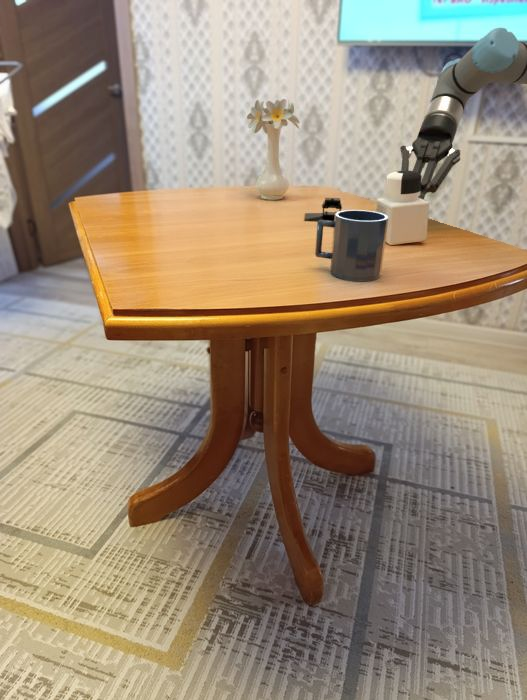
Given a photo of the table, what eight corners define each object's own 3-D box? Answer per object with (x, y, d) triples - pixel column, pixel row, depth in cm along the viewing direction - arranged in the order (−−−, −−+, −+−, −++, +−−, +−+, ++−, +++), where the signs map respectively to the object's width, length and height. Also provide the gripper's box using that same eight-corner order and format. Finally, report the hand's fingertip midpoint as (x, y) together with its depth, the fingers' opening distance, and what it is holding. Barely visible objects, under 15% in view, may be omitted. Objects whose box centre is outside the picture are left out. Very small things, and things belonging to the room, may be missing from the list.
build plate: (304, 221, 118) (305, 200, 116) (304, 214, 124) (305, 195, 122) (358, 223, 117) (360, 202, 115) (356, 216, 124) (357, 196, 121)
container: (410, 231, 108) (414, 167, 102) (426, 241, 101) (432, 172, 95) (375, 235, 107) (377, 171, 101) (389, 245, 100) (393, 177, 94)
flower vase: (271, 190, 153) (273, 98, 141) (307, 201, 139) (313, 99, 127) (233, 194, 146) (232, 97, 135) (267, 205, 132) (269, 98, 121)
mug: (384, 270, 86) (392, 213, 82) (374, 284, 79) (382, 223, 75) (321, 261, 90) (325, 206, 86) (306, 274, 83) (310, 215, 79)
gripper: (470, 139, 111) (439, 231, 106) (411, 136, 117) (379, 222, 112) (471, 113, 105) (438, 209, 99) (408, 111, 110) (374, 201, 105)
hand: (407, 216), depth 105 cm, fingers closed
